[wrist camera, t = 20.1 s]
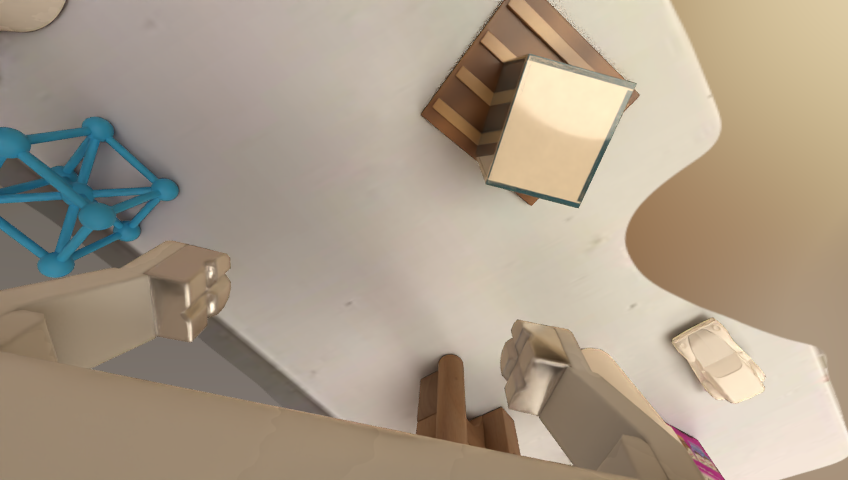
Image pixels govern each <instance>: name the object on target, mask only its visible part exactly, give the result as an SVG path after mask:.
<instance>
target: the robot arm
mask: <svg viewBox="0 0 848 480" xmlns="http://www.w3.org/2000/svg"><path fill="white" fill-rule="evenodd" d="M65 1H66V0H0V31H14V32H28V31H34V30H37V29H40V28H42V27H44V26H46V25H48V24H49V23H50V22H52V21H53V20H54V19H55V18H56V17H57V15H58V14H59V13H60V11H61V10H62V8H63V6H64V4H65ZM230 268H231V263H230V257H229V256H228V254H226V253H222V252H218V251H214V250H210V249H206V248H202V247H198V246H194V245H189V244H185V243H181V242H176V241H165V242H163V243H162V244H160V245H158V246H157V247H155V248H153V249H152V250H150V251H148V252H147V253H145V254H143V255H142V256H140V257H138V258H137V259H135V260H133V261H132V262H130V263H128V264H126V265H125V266H123V267H121V268H120V269H118V268H113V267H112V268H107V269H102V270H98V271H93V272H88V273H83V274H78V275H73V276H68V277H64V278H58V279H54V280H49V281H44V282H39V283H34V284H29V285H25V286H20V287H14V288H10V289H5V290H0V480H706V479H705V477H704V476H703V474H702V473H701V471H700V470H699V468H698V467H697V465H696V464H695V462H694V461H693V459H692V457H691V456H690V454H689V453H688V451H687V450H686V448H685V447H684V446H683V445H682V444H681V443H680V442H679V441H677V440H676V439H675V438H674V437H673V436H672V435H670V434H669V433H668V432H667V431H666V430H664V429H663V428H662V427H661V426H660V425H658V424H657V423H656V422H655V421H654V420H653V419H651V418H650V417H649V416H648V415H647V414H645V413H644V412H643V411H642V410H641V409H640V408H638V407H637V406H636V405H635V404H634V403H632V402H631V401H630V400H629V399H628V398H626V397H625V396H624V395H623V394H622V393H621V392H619V391H618V390H617V389H616V388H615V387H613V386H612V385H611V384H610V383H609V382H607V381H606V380H605V379H604V378H603V377H602V376H600V375H599V374H598V373H595V372H592V371H591V369H590V367H589V365H588V363H587V361H586V359H585V357H584V355H583V353H582V351H581V349H580V347H579V345H578V343H577V341H576V339H575V337H574V335H573V333H572V332H571V331H570V330H568V329H564V328H559V327H553V326H547V325H542V324H537V323H532V322H527V321H523V320H518V319H517V320H516V322H515V323H514V324H513V327H512V329H511V333H512V337H513V338H511V339H510V340H508V341H507V342H505V345H504V347H503V350H502V354H501V360H500V368H501V373H502V376H503V377H504V378H505V379H506V380H507V384H506V386H505V388H504V389H505V393H506V398H507V403H508V408H509V409H512V410H516V411H520V412H524V413H529V414H533V415H537V416H539V418H540V420H541V421H542V423H543V424H544V425H545V427H546V428H547V429H548V431H549V432H550V433H551V435H552V436H553V438H554V439H555V440H556V442H557V443H558V444H559V446H560V447H561V449H562V450H563V451H564V453H565V454H566V455H567V457H568V458H569V460H570V461H571V462H572V464H573V465H574V466H571V465H566V464H561V463H556V462H551V461H546V460H541V459H536V458H531V457H526V456H521V455H516V454H510V453H505V452H500V451H495V450H490V449H486V448H481V447H476V446H471V445H466V444H461V443H456V442H451V441H446V440H441V439H436V438H431V437H426V436H422V435H417V434H412V433H407V432H402V431H397V430H392V429H387V428H382V427H377V426H372V425H367V424H362V423H357V422H352V421H347V420H342V419H337V418H332V417H327V416H322V415H317V414H312V413H307V412H302V411H297V410H292V409H287V408H282V407H277V406H272V405H267V404H262V403H256V402H252V401H247V400H242V399H237V398H232V397H227V396H221V395H217V394H212V393H207V392H202V391H197V390H192V389H187V388H182V387H177V386H172V385H167V384H162V383H157V382H151V381H147V380H142V379H137V378H132V377H127V376H122V375H117V374H112V373H107V372H102V371H97V370H92V369H91V368H93V367H95V366H97V365H99V364H101V363H104V362H106V361H108V360H110V359H112V358H114V357H116V356H119V355H121V354H123V353H125V352H127V351H129V350H131V349H133V348H136V347H138V346H140V345H142V344H144V343H146V342H148V341H150V340H153V339H155V338H156V336H158V337H163V338H169V339H175V340H181V341H185V342H192V341H193V340H194V339H195V338H196V337H197V336H198V335H199V334H200V333H201V332H202V331H203V330H204V329H205V328H206V326H207V325H208V319H207V318H209V317H212V316H215V315H217V314H219V312H220V311H221V310H222V309H223V308H224V307H225V305H226V303H227V301H228V299H229V295H230V291H231V281H230V280H229V278H228V277H227V275H226V274H225V273H226V272H227V271H228V270H229V269H230Z"/></svg>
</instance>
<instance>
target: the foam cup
mask: <svg viewBox="0 0 848 480" xmlns="http://www.w3.org/2000/svg"><path fill="white" fill-rule="evenodd" d="M581 351H582V353H583V355H584V357H585V359H586V361H587V363H588V365H589V367H590V369H591V371H592V372H595V373H598V374H599V375H600V376H602V377H603V378H604V379H605V380H606V381H607V382H609V383H610V384H611V385H612V386H613V387H615V388H616V389H617V390H618V391H619V392H621V393H622V394H623V395H624V396H625V397H626V398H628V399H629V400H630V401H631V402H632V403H634V404H635V405H636V406H637V407H638V408H640V409H641V410H642V411H643V412H644V413H645V414H647V415H648V416H649V417H650V418H651V419H653V420H654V421H655V422H656V423H657V424H658V425H660V426H661V427H662V428H663V429H664V430H666V431H667V432H668V433H669V434H670V435H672V436H673V437H674V438H675V439H676V440H677V441H679V442H680V443H681V441H680V440H679V438H678V437H677V435H676V433H675V432H674V430H673V429H672V427H670V426H669V425H667V424H666V423H665V422H664V421H663V420H662V418H661V417H660V416H659V415H658V413H657V412H656V411H655V410H654V408H653V407H652V406H651V405H650V404H649V402H648V401H647V400H646V399H645V397H644V396H643V395H642V394H641V393H640V391H639V390H638V389H637V388H636V386H635V385H634V384H633V383H632V382H631V380H630V379H629V378H628V377H627V375H626V374H625V373H624V372H623V371H622V369H621V368H620V367H619V366H618V364H617V363H616V362H615V361H614V360H613V358H611V357H610V355H609V354H607V353H606V352H604V351H602V350H601V349H593V348H587V349H582V350H581ZM681 444H682V443H681ZM682 445H683V444H682Z"/></svg>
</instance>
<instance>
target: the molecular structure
mask: <svg viewBox="0 0 848 480" xmlns="http://www.w3.org/2000/svg"><path fill="white" fill-rule="evenodd" d="M113 135H114V128H113V126H112V125H111V123H109V122H108V121H107V120H105V119H103V118H100V117H90V118H87V119H85V120H84V121H83V123H82V128H75V129H68V130H61V131H53V132H46V133H39V134H31V135H25V134H23V133H22V132H20V131H18V130H16V129H12V128H8V127H0V168H1V166H2V165H3V163H4V162H5V160H6V159H7V158H19V159H20V160H21V161H23V162H24V163H25V164H26V165H28V166H29V167H30V168H31V169H33V170H34V171H35V172H36V173H37V174H39V175H40V176H41V177H42V179H37V180H33V181H29V182H25V183H21V184H17V185H13V186H9V187H5V188H1V189H0V203H15V202H32V201H48V200H63V201H64V202H65V203H67V204H68V205H69V207H68V210H67V214H66V217H65V220H64V223H63V227H62V230H61V233H60V236H59V239H58V243H57V246H56V249H55V252H52V253H48V252H47V251H46V250H44V249H43V248H42V247H40V246H39V245H38V244H36V243H35V242H34V241H32V240H31V239H30V238H28V237H27V236H26V235H24V234H23V233H22V232H20V231H19V230H18V229H17V228H15V227H14V226H12V225H11V224H10V223H8V222H7V221H6V220H5V219H3V218H2V217H1V216H0V229H1V230H2V231H4V232H5V233H7V234H8V235H9V236H11V237H12V238H13V239H14V240H16V241H17V242H18V243H20V244H21V245H23V246H24V247H25V248H27V249H28V250H29V251H31V252H32V253H33V254H35V255H36V256H37V257H39V258H40V260H39V261H38V264H37V265H38V269H39V271H40V272H41V273H42V274H43V275H45V276H48V277H54V278H57V277H63V276H65V275H67V274H69V273H70V272H71V271H72V270H73V269H74V265H75V263H74V260H77V259H79V258H81V257H83V256H85V255H87V254H89V253H91V252H93V251H95V250H97V249H99V248H101V247H103V246H106V245H108V244H110V243H112V242H114V241H116V240H118V239H119V240H121V241H126V242H128V241H133V240H135V239H137V238H138V237H139V235H140V232H141V231H140V227H139V226H138V224H139V223H140V222H141V221H142V220H143V219H144V218H145V217H146V216H147V215H148V214H149V213H150V211H151V210H152V209H153V208H154V207H155V206H156V205H157V204H158V203H159V202H160V201H161V200H162V201H170V200H172V199H174V198H176V197H177V195H178V192H179V189H178V186H177V185H176V183H175V182H173V181H172V180H170V179H166V178H162V179H158V178H157V177H156V176H155V175H154V174H153V173H152V172H150V171H149V170H148V169H147V168H146V167H145V166H144V165H143V164H142V163H141V162H139V161H138V160H137V159H136V158H135V157H134V156H133V155H132V154H131V153H130V152H128V151H127V150H126V149H125V148H124V147H123V146H122V145H121V144H120V143H119V142H117V141H116V140H115V139H114V138H113ZM80 136H87V137H86V138H85V139H84V141H83V142H82V143H81V145H80V146H79V147H78V149H77V150H76V152H75V153H74V154H73V156H72V157H71V158H70V160H69V161H68V162H67V164H66V165H65V166H55V167H52V168H49V167H48V166H47V165H45V164H44V163H43V162H42V161H40V160H39V159H38V158H36V157H35V156H34V155H32V154H31V153H30V152H29V151H30V149H31V144H37V143H43V142H49V141H55V140H62V139H68V138H74V137H80ZM105 141H106V142H107V143H108V144H109V145H110V146H111V147H112V148H113V149H115V150H116V151H117V152H118V153H119V154H120V155H121V156H122V157H123V158H125V159H126V160H127V161H128V162H129V163H130V164H131V165H132V166H133V167H135V168H136V169H137V170H138V171H139V172H140V173H141V174H142V175H143V176H145V177H146V178H147V179H148V180H149V181H150V182H151V183H152V185H151V187H140V188H121V189H102V190H93V189H92V188H91V187H90V186H88V185H87V183H88V179H89V176H90V173H91V170H92V166H93V163H94V160H95V156H96V153H97V150H98V147H99V143H100V142H105ZM83 157H84V159H83ZM82 159H83V162H82V166H81V169H80V172H79V175H78V176H77V174H76V172H75V171H74V169H75V168H76V167H77V165H78V164H79V163H80V161H81V160H82ZM50 184H51V185H52V186H53V187H55V188H56V189H57V190H58V191H59V192H45V193H26V194H17V193H20V192H24V191H28V190H31V189H35V188H39V187H43V186H46V185H50ZM129 195H139V196H137V197H134V198H131V199H129V200H126V201H124V202H121V203H118V204H116V205H113V206H111V207H110V206H108V205H106V204H104V203H99V202H97V201H96V200H95V198H97V197H113V196H129ZM149 200H150V201H149ZM146 201H149V202H148V203H147V204H146V205H145V206H144V207H143V208H142V209H141V210H140V211H139V213H138V214H137V215H136V216H135V217H134V218H133V219H132V220H131V221H120V220H119V219H118V218H117V217H116V214H117V213H120V212H122V211H124V210H127V209H129V208H132V207H134V206H137V205H139V204H141V203H144V202H146ZM79 209H80V211H79ZM78 212H79V214H78ZM77 215H78V217H79V221H80V222H81V223H82V224H83V226H82V227H81V228H80V230H79V231H78V232H77V233H76V234H75V236H74V237H73V238H72V239H71V240H70V238H71V235H72V232H73V228H74V225H75V222H76V219H77ZM112 225H113V226H114V228H113V234H111V235H109V236H107V237H105V238H103V239H100V240H98V241H96V242H94V243H92V244H90V245H88V246H85V247H83V248H81V249H79V250H77V251H75V250H76V249H77V248H78V247H79V245H80V244H81V243H82V242H83V241H84V240H85V239H86V238H87V237H88V235H89V234H90V233H91V232H92V231H93V230H104V229H107V228H109V227H111V226H112Z"/></svg>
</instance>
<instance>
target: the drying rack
mask: <svg viewBox="0 0 848 480" xmlns="http://www.w3.org/2000/svg"><path fill="white" fill-rule="evenodd" d="M526 54H534V55H537V56H541V57H544V58H548V59H551V60H555V61H559V62H562V63H566V64H569V65H573V66H576V67H580V68H584V69H587V70H591V71H594V72H598V73H601V74H605V75H609V76H612V77H616V78H619V79H623V80H625V79H624V78H623V77H622V76H621V75H620V74H619V73H618V72H617V71H616V70H615V69H614V68H613V67H612V66H611V65H610V64H609V63H608V62H607V61H606V60H605V59H604V58H603V57H602V56H601V55H600V54H599V53H598V52H597V51H596V50H595V49H594V48H593V47H592V46H591V45H590V44H589V43H588V42H587V41H586V40H585V39H584V38H583V37H582V36H581V35H580V34H579V33H578V32H577V31H576V30H575V29H574V28H573V27H572V26H571V25H570V24H569V23H568V22H567V21H566V19H565V18H564V17H563V16H562V15H561V14H560V13H559V12H558V11H557V10H556V9H555V8H554V7H553V6H552V5H551V4H550V3H549V2H548V1H547V0H504V1H503V3H502V4H501V5H500V7H499V8H498V9H497V11H496V12H495V14H494V15H493V16H492V18H491V19H490V20H489V22H488V23H487V24H486V26H485V27H484V29H483V30H482V31H481V33H480V34H479V35H478V37H477V38H476V40H475V41H474V42H473V44H472V45H471V46H470V48H469V49H468V50H467V52H466V53H465V55H464V56H463V57H462V59H461V60H460V61H459V63H458V64H457V66H456V67H455V68H454V70H453V71H452V72H451V74H450V75H449V76H448V78H447V79H446V81H445V82H444V83H443V85H442V86H441V87H440V89H439V90H438V92H437V93H436V94H435V96H434V97H433V98H432V100H431V101H430V102H429V104H428V105H427V107H426V108H425V109H424V111H423V112H422V113H421V115H422V116H423V117H424V118H425V119H427V120H428V121H429V122H430V123H431V124H433V125H434V126H435V127H436V128H437V129H439V130H440V131H441V132H442V133H443V134H445V135H446V136H447V137H448V138H450V139H451V140H452V141H453V142H454V143H456V144H457V145H458V146H459V147H460V148H462V149H463V150H464V151H465V152H466V153H468V154H469V155H470V156H471V157H473V158H474V159H475V160H476V161H477V158H476V155H475V153H476V151H477V147H478V143H479V140H480V137H481V134H482V130H483V127H484V124H485V121H486V117H487V114H488V111H489V108H490V104H491V101H492V98H493V95H494V91H495V88H496V85H497V82H498V78H499V75H500V72H501V69H502V66H503V62H504V61H506V60H509V59H513V58H516V57H519V56H523V55H526ZM639 96H640V95H639V93H638V92H637V91H636V90H635V89H634V90H633V93H632V95H631V97H630V99H629V101H628V103H627V106H626V108H625V110H626V109H627V108H628V107H629V106H630V105H631V104H632V103H633V102H634V101H635V100H636V99H637V98H638V97H639ZM625 110H624V111H625ZM477 162H478V161H477ZM515 193H516V194H517V195H519V196H520V197H521V198H522V199H523V200H525V201H526V202H527V203H528V204H529V205H531V206H532V205H533V204H534V203H535V202H536V201H537V200H538V199H539V198H537V197H533V196H529V195H525V194H521V193H518V192H515Z"/></svg>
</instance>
